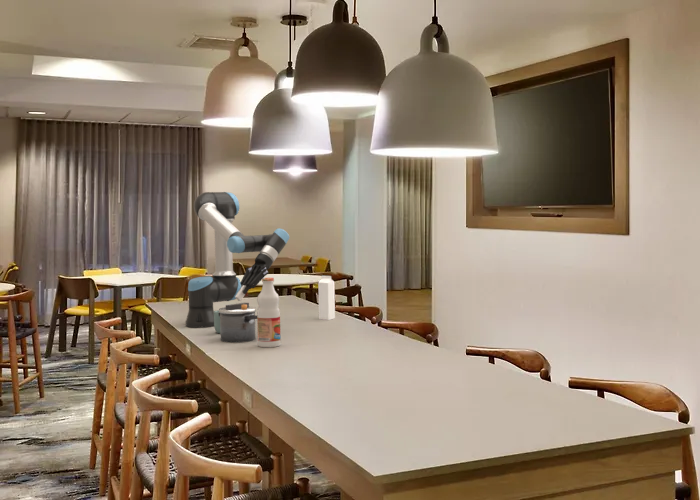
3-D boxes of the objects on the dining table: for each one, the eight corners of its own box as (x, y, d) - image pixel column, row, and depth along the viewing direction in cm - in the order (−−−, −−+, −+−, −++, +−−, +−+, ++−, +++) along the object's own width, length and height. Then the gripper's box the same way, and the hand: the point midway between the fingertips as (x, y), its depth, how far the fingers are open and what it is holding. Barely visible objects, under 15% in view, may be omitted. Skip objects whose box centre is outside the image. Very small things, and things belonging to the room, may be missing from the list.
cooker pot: (236, 334, 345) (235, 308, 344) (266, 339, 331) (266, 311, 331) (209, 339, 333) (208, 311, 333) (240, 344, 320) (239, 315, 319)
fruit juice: (257, 344, 320) (256, 277, 319) (280, 343, 322) (278, 276, 320) (257, 348, 311) (256, 279, 309) (281, 347, 312) (279, 278, 311)
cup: (227, 334, 346) (227, 312, 345) (211, 334, 347) (211, 312, 347) (233, 331, 353) (233, 310, 353) (217, 331, 355) (217, 309, 354)
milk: (325, 317, 393) (324, 275, 392) (335, 318, 390) (334, 275, 389) (318, 319, 388) (318, 276, 387) (328, 320, 385) (328, 276, 384)
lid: (239, 307, 343) (239, 300, 343) (263, 310, 332) (263, 303, 332) (211, 312, 331) (210, 304, 331) (235, 315, 320) (235, 307, 320)
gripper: (280, 264, 341) (252, 305, 329) (261, 262, 349) (233, 303, 338) (271, 253, 336) (242, 294, 325) (251, 251, 345) (223, 292, 334)
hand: (237, 298), depth 332 cm, fingers closed
